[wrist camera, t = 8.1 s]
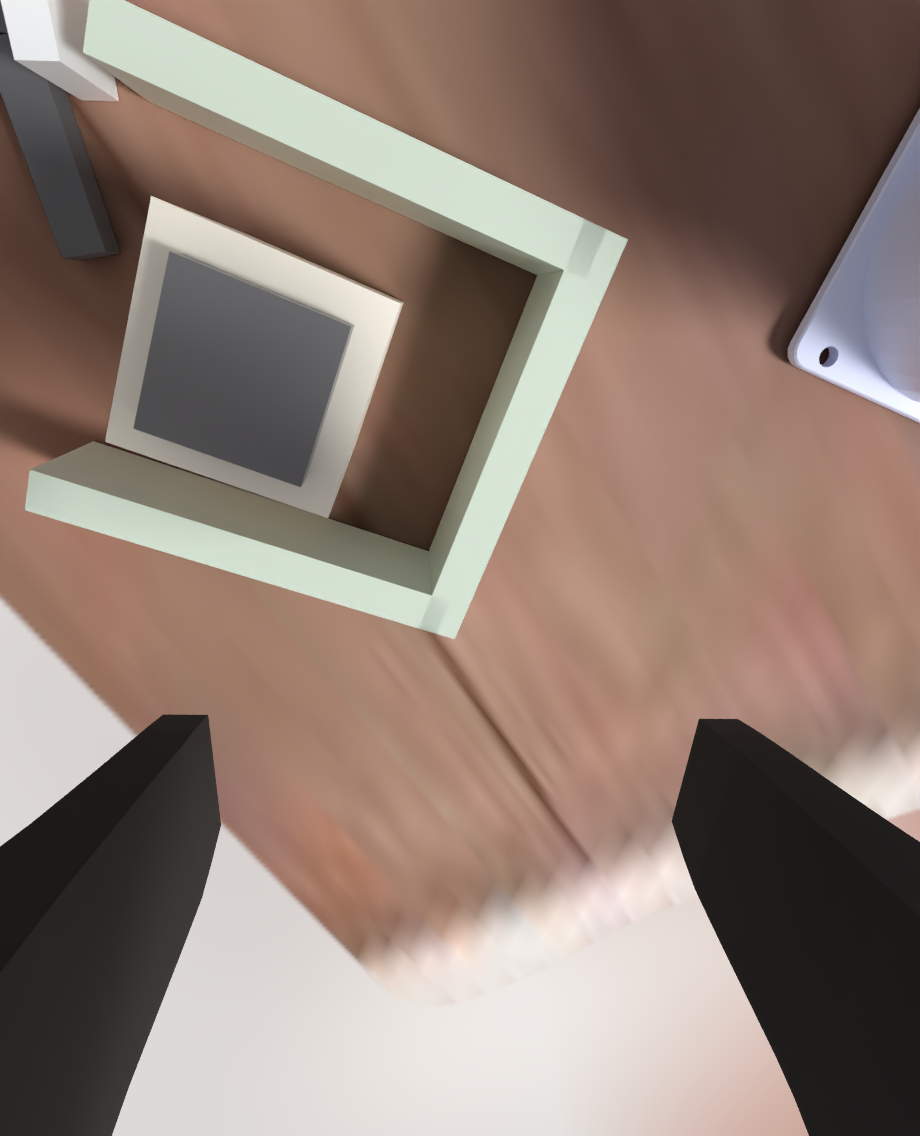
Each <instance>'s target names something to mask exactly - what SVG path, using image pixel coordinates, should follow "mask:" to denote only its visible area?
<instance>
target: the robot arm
mask: <svg viewBox="0 0 920 1136" xmlns="http://www.w3.org/2000/svg"><path fill="white" fill-rule="evenodd" d="M825 348H828V349H829V357H828V359H827V361H826V362H825V363H824V364H822V365H821V364H820V363H819V356H820V353H821V352H822V351H823V350H824V349H825ZM788 358H789V361H790V363H791V364H792V365H794V366H795V367H797V368H799V369H801V370H803V371H805V372H808V373H810V374H812V375H814V376H816V377H819V378H821V379H823V380H825V381H827V382H830V383H832V384H834V385H836V386H838V387H841V388H843V389H845V390H847V391H849V392H852V393H854V394H856V395H858V396H860V397H862V398H865V399H867V400H869V401H871V402H873V403H876V404H878V405H880V406H882V407H884V408H887V409H889V410H891V411H893V412H895V413H898V414H900V415H902V416H904V417H906V418H909V419H911V420H913V421H915V422H917V423H920V108H919V110H918V112H917V114H916V115H915V117H914V119H913V121H912V123H911V124H910V126H909V128H908V130H907V132H906V134H905V135H904V137H903V139H902V141H901V143H900V144H899V146H898V148H897V150H896V152H895V153H894V155H893V157H892V159H891V161H890V162H889V164H888V166H887V168H886V170H885V172H884V173H883V175H882V177H881V179H880V181H879V182H878V184H877V186H876V188H875V190H874V191H873V193H872V195H871V197H870V199H869V201H868V202H867V204H866V206H865V208H864V210H863V211H862V213H861V215H860V217H859V219H858V220H857V222H856V224H855V226H854V228H853V229H852V231H851V233H850V235H849V237H848V239H847V240H846V242H845V244H844V246H843V248H842V249H841V251H840V253H839V255H838V257H837V258H836V260H835V262H834V264H833V266H832V268H831V269H830V271H829V273H828V275H827V277H826V278H825V280H824V282H823V284H822V286H821V287H820V289H819V291H818V293H817V295H816V297H815V298H814V300H813V302H812V304H811V306H810V307H809V309H808V311H807V313H806V315H805V316H804V318H803V320H802V322H801V324H800V325H799V327H798V329H797V331H796V333H795V335H794V336H793V338H792V340H791V342H790V345H789V347H788ZM672 823H673V826H674V829H675V833H676V836H677V839H678V842H679V845H680V848H681V851H682V854H683V857H684V860H685V863H686V866H687V868H688V871H689V874H690V877H691V879H692V882H693V885H694V888H695V890H696V892H697V894H698V896H699V899H700V901H701V903H702V905H703V907H704V909H705V911H706V913H707V916H708V918H709V920H710V922H711V924H712V926H713V928H714V930H715V932H716V934H717V937H718V939H719V941H720V943H721V945H722V947H723V949H724V951H725V953H726V955H727V957H728V959H729V961H730V963H731V965H732V967H733V970H734V972H735V973H736V976H737V978H738V980H739V982H740V984H741V986H742V988H743V990H744V992H745V994H746V996H747V998H748V1000H749V1002H750V1004H751V1006H752V1008H753V1010H754V1013H755V1015H756V1017H757V1019H758V1021H759V1023H760V1025H761V1027H762V1029H763V1030H764V1033H765V1035H766V1037H767V1039H768V1041H769V1043H770V1045H771V1047H772V1049H773V1052H774V1053H775V1056H776V1058H777V1060H778V1062H779V1065H780V1067H781V1069H782V1071H783V1073H784V1076H785V1078H786V1080H787V1083H788V1085H789V1087H790V1089H791V1092H792V1094H793V1096H794V1098H795V1101H796V1103H797V1106H798V1108H799V1111H800V1114H801V1116H802V1119H803V1121H804V1124H805V1126H806V1129H807V1131H808V1134H809V1136H920V842H919V841H917V840H916V839H914V838H913V837H911V836H910V835H908V834H906V833H905V832H904V831H902V830H901V829H899V828H898V827H896V826H895V825H893V824H892V823H890V822H889V821H887V820H886V819H884V818H883V817H881V816H880V815H878V814H877V813H875V812H874V811H872V810H871V809H870V808H868V807H867V806H865V805H864V804H862V803H861V802H859V801H858V800H856V799H855V798H854V797H852V796H851V795H849V794H848V793H846V792H845V791H843V790H842V789H841V788H839V787H838V786H836V785H835V784H833V783H832V782H830V781H829V780H828V779H826V778H825V777H823V776H822V775H820V774H819V773H818V772H816V771H815V770H813V769H812V768H810V767H809V766H808V765H806V764H805V763H803V762H802V761H800V760H799V759H798V758H796V757H795V756H793V755H792V754H790V753H789V752H787V751H786V750H785V749H783V748H782V747H780V746H779V745H777V744H776V743H774V742H773V741H771V740H770V739H768V738H767V737H765V736H764V735H762V734H761V733H759V732H758V731H756V730H755V729H753V728H751V727H750V726H748V725H747V724H745V723H743V722H742V721H740V720H738V719H699V721H698V725H697V729H696V733H695V736H694V740H693V744H692V748H691V751H690V755H689V759H688V763H687V766H686V770H685V774H684V778H683V781H682V785H681V789H680V792H679V796H678V800H677V804H676V807H675V811H674V815H673V819H672ZM220 827H221V821H220V813H219V804H218V796H217V787H216V779H215V770H214V762H213V753H212V745H211V736H210V728H209V719H208V715H162V716H161V717H160V718H158V719H157V720H156V721H155V722H153V723H152V724H151V725H150V726H148V727H147V728H146V729H145V730H144V731H142V732H141V733H140V734H139V735H138V736H136V737H135V738H134V739H133V740H132V741H130V742H129V743H128V744H127V745H126V746H124V747H123V748H122V749H121V750H120V751H119V752H117V753H116V754H115V755H114V756H113V757H111V758H110V759H109V760H108V761H107V762H106V763H104V764H103V765H102V766H101V767H100V768H98V769H97V770H96V771H95V772H94V773H92V774H91V775H90V776H89V777H87V778H86V779H85V780H84V781H83V782H81V783H80V784H79V785H78V786H76V787H75V788H74V789H73V790H72V791H70V792H69V793H68V794H67V795H65V796H64V797H63V798H62V799H61V800H59V801H58V802H57V803H56V804H54V805H53V806H52V807H51V808H49V809H48V810H47V811H46V812H45V813H43V814H42V815H41V816H40V817H38V818H37V819H36V820H35V821H33V822H32V823H31V824H30V825H29V826H27V827H26V828H24V829H23V830H22V831H20V832H19V833H18V834H16V835H15V836H14V837H12V838H11V839H10V840H8V841H7V842H6V843H4V844H3V845H2V846H0V1136H112V1133H113V1130H114V1127H115V1124H116V1122H117V1119H118V1116H119V1113H120V1110H121V1107H122V1105H123V1102H124V1099H125V1096H126V1093H127V1091H128V1088H129V1085H130V1082H131V1080H132V1077H133V1075H134V1072H135V1070H136V1067H137V1064H138V1062H139V1059H140V1057H141V1054H142V1052H143V1049H144V1046H145V1044H146V1041H147V1039H148V1036H149V1034H150V1031H151V1028H152V1026H153V1023H154V1021H155V1018H156V1016H157V1013H158V1010H159V1008H160V1005H161V1003H162V1000H163V998H164V995H165V992H166V990H167V987H168V985H169V982H170V980H171V977H172V974H173V972H174V969H175V967H176V964H177V962H178V959H179V957H180V954H181V951H182V949H183V946H184V943H185V941H186V938H187V936H188V933H189V930H190V928H191V925H192V922H193V920H194V917H195V915H196V912H197V909H198V906H199V904H200V901H201V899H202V896H203V892H204V888H205V884H206V881H207V877H208V874H209V870H210V866H211V863H212V859H213V855H214V850H215V847H216V842H217V839H218V834H219V830H220Z"/></svg>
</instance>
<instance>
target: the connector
mask: <svg viewBox="0 0 920 1136" xmlns="http://www.w3.org/2000/svg"><path fill="white" fill-rule="evenodd" d="M403 303H404V302H403V301H401V300H398V299H396V298H394V297H391V296H389V295H387V294H384V293H382V292H380V291H377V290H375V289H373V288H371V287H368V286H366V285H364V284H361V283H359V282H357V281H354V280H352V279H350V278H347V277H345V276H343V275H341V274H338V273H336V272H334V271H331V270H329V269H327V268H324V267H322V266H320V265H317V264H315V263H313V262H311V261H308V260H306V259H304V258H301V257H299V256H297V255H294V254H292V253H290V252H287V251H285V250H283V249H281V248H278V247H276V246H274V245H271V244H269V243H267V242H264V241H262V240H260V239H257V238H255V237H253V236H250V235H248V234H246V233H243V232H241V231H238V230H236V229H233V228H231V227H228V226H226V225H223V224H221V223H218V222H216V221H213V220H211V219H208V218H206V217H203V216H201V215H198V214H196V213H193V212H191V211H188V210H186V209H183V208H181V207H178V206H176V205H173V204H171V203H168V202H166V201H163V200H160V199H158V198H155V197H153V196H151V200H150V205H149V210H148V216H147V221H146V226H145V232H144V237H143V242H142V248H141V253H140V258H139V264H138V269H137V274H136V280H135V285H134V290H133V296H132V301H131V306H130V312H129V317H128V322H127V328H126V333H125V338H124V344H123V349H122V354H121V360H120V365H119V370H118V375H117V381H116V386H115V391H114V397H113V402H112V407H111V413H110V418H109V423H108V429H107V434H106V439H105V442H107V443H110V444H113V445H116V446H119V447H122V448H125V449H128V450H130V451H133V452H136V453H139V454H142V455H145V456H148V457H151V458H154V459H157V460H160V461H162V462H165V463H168V464H171V465H174V466H177V467H180V468H183V469H186V470H189V471H192V472H194V473H197V474H200V475H203V476H206V477H209V478H212V479H215V480H218V481H221V482H224V483H227V484H229V485H232V486H235V487H238V488H241V489H244V490H247V491H250V492H253V493H256V494H259V495H261V496H264V497H267V498H270V499H273V500H276V501H279V502H282V503H285V504H288V505H291V506H293V507H296V508H299V509H302V510H305V511H308V512H311V513H314V514H317V515H320V516H323V517H325V518H328V517H329V515H330V512H331V509H332V507H333V504H334V501H335V499H336V496H337V493H338V490H339V488H340V485H341V482H342V480H343V477H344V474H345V472H346V469H347V466H348V464H349V461H350V458H351V455H352V453H353V450H354V447H355V444H356V441H357V439H358V436H359V433H360V430H361V427H362V424H363V421H364V418H365V415H366V412H367V409H368V406H369V403H370V400H371V397H372V394H373V391H374V388H375V386H376V383H377V380H378V377H379V374H380V371H381V368H382V365H383V362H384V359H385V356H386V353H387V350H388V347H389V344H390V341H391V338H392V335H393V332H394V330H395V327H396V324H397V321H398V318H399V315H400V312H401V309H402V306H403Z"/></svg>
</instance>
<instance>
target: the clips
mask: <svg viewBox="0 0 920 1136" xmlns="http://www.w3.org/2000/svg"><path fill="white" fill-rule="evenodd" d="M1 4H2V9H3V13H4V18H5V22H6V26H7V31H8V35H9V39H10V44H11V48H12V52H13V57H14V60H15V61H17V62H19V63H20V64H22V65H23V66H25V67H27V68H28V69H30V70H32V71H33V72H35V73H37V74H38V75H40V76H42V77H43V78H45V79H47V80H48V81H50V82H52V83H53V84H55V85H57V86H58V87H60V88H62V89H63V90H65V91H67V92H68V93H70V94H72V95H73V96H75V97H77V98H78V99H80V100H87V101H119V98H118V93H117V87H116V82H115V76H113V75H112V74H111V73H109V72H108V71H107V70H105V69H104V68H103V67H101V66H100V65H99V64H97V63H96V62H95V61H93V60H92V59H91V58H90V57H88V56H87V55H86V54H84V53H83V47H84V39H85V31H86V23H87V15H88V7H89V0H1Z"/></svg>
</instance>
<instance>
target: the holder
mask: <svg viewBox="0 0 920 1136" xmlns="http://www.w3.org/2000/svg"><path fill="white" fill-rule="evenodd" d="M83 53H84V54H86V55H87V56H88V57H90V58H91V59H92V60H93V61H95V62H96V63H97V64H99V65H100V66H101V67H103V68H104V69H105V70H107V71H108V72H109V73H111V74H112V75H113V76H115V77H116V78H117V79H119V80H120V81H121V82H123V83H124V84H125V85H127V86H128V87H129V88H131V89H132V90H133V91H135V92H136V93H137V94H139V95H140V96H141V97H143V98H144V99H145V100H147V101H148V102H150V103H152V104H154V105H156V106H159V107H161V108H163V109H165V110H168V111H170V112H172V113H174V114H177V115H179V116H181V117H183V118H186V119H188V120H190V121H192V122H195V123H197V124H199V125H201V126H204V127H206V128H208V129H210V130H213V131H215V132H217V133H219V134H221V135H224V136H226V137H228V138H230V139H233V140H235V141H237V142H239V143H242V144H244V145H246V146H248V147H251V148H253V149H255V150H257V151H260V152H262V153H264V154H266V155H269V156H271V157H273V158H275V159H278V160H280V161H282V162H284V163H287V164H289V165H291V166H293V167H296V168H298V169H300V170H302V171H304V172H307V173H309V174H311V175H313V176H316V177H318V178H320V179H322V180H325V181H327V182H329V183H331V184H334V185H336V186H338V187H340V188H343V189H345V190H347V191H349V192H352V193H354V194H356V195H358V196H361V197H363V198H365V199H367V200H370V201H372V202H374V203H376V204H379V205H381V206H383V207H385V208H388V209H390V210H392V211H394V212H396V213H399V214H401V215H403V216H405V217H408V218H410V219H412V220H414V221H417V222H419V223H421V224H423V225H426V226H428V227H430V228H432V229H435V230H437V231H439V232H441V233H444V234H446V235H448V236H450V237H453V238H455V239H457V240H459V241H462V242H464V243H466V244H468V245H471V246H473V247H475V248H477V249H479V250H482V251H484V252H486V253H488V254H491V255H493V256H495V257H497V258H500V259H502V260H504V261H506V262H509V263H511V264H513V265H515V266H518V267H520V268H522V269H524V270H527V271H529V272H531V273H533V274H536V275H537V277H536V279H535V282H534V284H533V287H532V290H531V292H530V295H529V297H528V300H527V302H526V305H525V307H524V310H523V312H522V315H521V318H520V320H519V323H518V325H517V328H516V330H515V333H514V335H513V338H512V341H511V343H510V346H509V348H508V351H507V353H506V356H505V358H504V361H503V363H502V366H501V369H500V371H499V374H498V376H497V379H496V381H495V384H494V386H493V389H492V391H491V394H490V397H489V399H488V402H487V404H486V407H485V409H484V412H483V414H482V417H481V420H480V422H479V425H478V427H477V430H476V432H475V435H474V437H473V440H472V442H471V445H470V448H469V450H468V453H467V455H466V458H465V460H464V463H463V465H462V468H461V471H460V473H459V476H458V478H457V481H456V483H455V486H454V488H453V491H452V493H451V496H450V499H449V501H448V504H447V506H446V509H445V511H444V514H443V516H442V519H441V521H440V524H439V527H438V529H437V532H436V534H435V537H434V539H433V542H432V544H431V547H430V550H429V551H426V550H423V549H420V548H417V547H414V546H411V545H408V544H405V543H402V542H399V541H396V540H393V539H390V538H386V537H383V536H380V535H377V534H374V533H371V532H368V531H365V530H362V529H359V528H356V527H353V526H350V525H347V524H344V523H341V522H338V521H335V520H332V519H329V518H325V517H323V516H320V515H317V514H314V513H311V512H307V511H304V510H301V509H298V508H295V507H292V506H289V505H286V504H283V503H280V502H277V501H274V500H271V499H268V498H265V497H262V496H259V495H256V494H253V493H250V492H247V491H244V490H241V489H238V488H235V487H232V486H228V485H225V484H222V483H219V482H216V481H213V480H210V479H207V478H204V477H201V476H198V475H195V474H192V473H189V472H186V471H183V470H180V469H177V468H174V467H171V466H168V465H165V464H162V463H159V462H156V461H153V460H149V459H146V458H143V457H140V456H137V455H134V454H131V453H128V452H125V451H122V450H119V449H116V448H113V447H110V446H107V445H104V444H101V443H98V442H95V441H93V442H90V443H88V444H86V445H84V446H82V447H79V448H77V449H75V450H73V451H70V452H68V453H66V454H64V455H62V456H59V457H57V458H55V459H53V460H50V461H48V462H46V463H44V464H41V465H39V466H37V467H35V468H33V469H30V473H29V481H28V489H27V497H26V505H25V510H26V511H30V512H33V513H36V514H40V515H43V516H46V517H49V518H53V519H56V520H59V521H63V522H66V523H69V524H73V525H76V526H79V527H83V528H86V529H89V530H93V531H96V532H99V533H103V534H106V535H109V536H113V537H116V538H119V539H123V540H126V541H129V542H133V543H136V544H139V545H143V546H146V547H149V548H153V549H156V550H159V551H163V552H166V553H169V554H173V555H176V556H179V557H183V558H186V559H189V560H193V561H196V562H199V563H203V564H206V565H209V566H213V567H216V568H219V569H223V570H226V571H229V572H233V573H236V574H239V575H243V576H246V577H249V578H253V579H256V580H259V581H263V582H266V583H269V584H273V585H276V586H279V587H283V588H286V589H289V590H293V591H296V592H299V593H303V594H306V595H309V596H313V597H316V598H319V599H323V600H326V601H329V602H332V603H336V604H339V605H342V606H346V607H349V608H352V609H356V610H359V611H362V612H366V613H369V614H372V615H376V616H379V617H382V618H386V619H389V620H392V621H396V622H399V623H402V624H406V625H409V626H412V627H416V628H419V629H422V630H426V631H429V632H432V633H436V634H439V635H442V636H446V637H449V638H452V639H455V637H456V635H457V632H458V630H459V628H460V625H461V623H462V621H463V619H464V616H465V614H466V612H467V609H468V607H469V605H470V602H471V600H472V598H473V596H474V593H475V591H476V589H477V586H478V584H479V582H480V579H481V577H482V575H483V572H484V570H485V568H486V566H487V563H488V561H489V559H490V556H491V554H492V552H493V549H494V547H495V545H496V542H497V540H498V538H499V536H500V533H501V531H502V529H503V526H504V524H505V522H506V519H507V517H508V515H509V513H510V510H511V508H512V506H513V503H514V501H515V499H516V496H517V494H518V492H519V489H520V487H521V485H522V483H523V480H524V478H525V476H526V473H527V471H528V469H529V466H530V464H531V462H532V460H533V457H534V455H535V453H536V450H537V448H538V446H539V443H540V441H541V439H542V436H543V434H544V432H545V430H546V427H547V425H548V423H549V420H550V418H551V416H552V413H553V411H554V409H555V406H556V404H557V402H558V400H559V397H560V395H561V393H562V390H563V388H564V386H565V383H566V381H567V379H568V377H569V374H570V372H571V370H572V367H573V365H574V363H575V360H576V358H577V356H578V353H579V351H580V349H581V347H582V344H583V342H584V340H585V337H586V335H587V333H588V330H589V328H590V326H591V324H592V321H593V319H594V317H595V314H596V312H597V310H598V307H599V305H600V303H601V300H602V298H603V296H604V294H605V291H606V289H607V287H608V284H609V282H610V280H611V277H612V275H613V273H614V271H615V268H616V266H617V264H618V261H619V259H620V257H621V254H622V252H623V250H624V247H625V245H626V243H627V241H628V239H626V238H623V237H621V236H619V235H617V234H615V233H613V232H611V231H609V230H607V229H604V228H602V227H600V226H598V225H596V224H594V223H592V222H590V221H588V220H586V219H583V218H581V217H579V216H577V215H575V214H573V213H571V212H569V211H567V210H564V209H562V208H560V207H558V206H556V205H554V204H552V203H550V202H548V201H546V200H543V199H541V198H539V197H537V196H535V195H533V194H531V193H529V192H527V191H524V190H522V189H520V188H518V187H516V186H514V185H512V184H510V183H508V182H506V181H503V180H501V179H499V178H497V177H495V176H493V175H491V174H489V173H487V172H485V171H482V170H480V169H478V168H476V167H474V166H472V165H470V164H468V163H466V162H463V161H461V160H459V159H457V158H455V157H453V156H451V155H449V154H447V153H445V152H442V151H440V150H438V149H436V148H434V147H432V146H430V145H428V144H426V143H423V142H421V141H419V140H417V139H415V138H413V137H411V136H409V135H407V134H405V133H402V132H400V131H398V130H396V129H394V128H392V127H390V126H388V125H386V124H383V123H381V122H379V121H377V120H375V119H373V118H371V117H369V116H367V115H365V114H362V113H360V112H358V111H356V110H354V109H352V108H350V107H348V106H346V105H343V104H341V103H339V102H337V101H335V100H333V99H331V98H329V97H327V96H325V95H322V94H320V93H318V92H316V91H314V90H312V89H310V88H308V87H306V86H304V85H301V84H299V83H297V82H295V81H293V80H291V79H289V78H287V77H285V76H282V75H280V74H278V73H276V72H274V71H272V70H270V69H268V68H266V67H264V66H261V65H259V64H257V63H255V62H253V61H251V60H249V59H247V58H245V57H242V56H240V55H238V54H236V53H234V52H232V51H230V50H228V49H226V48H224V47H221V46H219V45H217V44H215V43H213V42H211V41H209V40H207V39H205V38H202V37H200V36H198V35H196V34H194V33H192V32H190V31H188V30H186V29H184V28H181V27H179V26H177V25H175V24H173V23H171V22H169V21H167V20H165V19H163V18H160V17H158V16H156V15H154V14H152V13H150V12H148V11H146V10H144V9H141V8H139V7H137V6H135V5H133V4H131V3H129V2H127V1H125V0H89V7H88V15H87V23H86V31H85V39H84V47H83Z"/></svg>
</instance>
